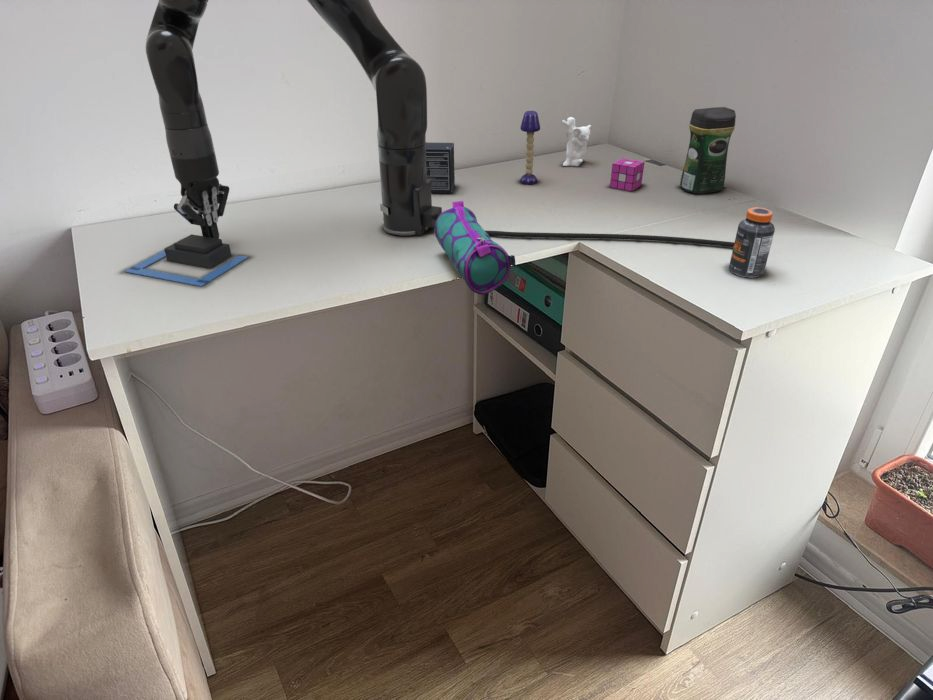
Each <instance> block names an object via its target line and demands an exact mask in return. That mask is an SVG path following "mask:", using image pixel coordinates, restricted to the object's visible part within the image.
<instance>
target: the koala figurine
mask: <svg viewBox="0 0 933 700" xmlns="http://www.w3.org/2000/svg"><path fill="white" fill-rule="evenodd" d="M561 123H562V124H563V125H564V126H565V127H566V129H565V136H566V138H567V139H568V140H567V141H568V142H567V143H566V152H565V156H566V159H565V160H564V162H563V163H562V166H563V167H569V166H571V167H579V166H580V165H581V164H582V163H583V159H582V158H583V157H584V156H585V155H586V154H587V152H588V150H587V146H588V141H590V136H591V132H592V128H593V126H592V124H588V125H586V126H585V125H583V126H579V127H578V126H576V118H575V117H572V116H569V117H567V119H566V120H565V119H562V120H561Z"/></svg>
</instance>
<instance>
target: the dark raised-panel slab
mask: <svg viewBox="0 0 933 700" xmlns="http://www.w3.org/2000/svg"><path fill="white" fill-rule="evenodd" d="M164 250H165V254H166V257H165V258H166V261H167V262H168V261H169V262H174V263H178V264H184V265H190V266H195V267H201V268H206V269H207V268H208V269H212V268H214V267H215V266H217V265H219V264H220V263H222V262H224V261H226V260H227V259H229V258H231V257H232V251H231V246H230V244H229V243H223V239H222V238H219V239H217V238H211V237H205V236H203V235H198V234H192V233H191V234H188V235H187V236H185V237H183V238H181V239H180V240H178V241H176V242H174V243H172V244H171V245H168V246H166V247H165V248H163V251H164Z"/></svg>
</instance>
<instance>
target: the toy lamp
mask: <svg viewBox="0 0 933 700" xmlns="http://www.w3.org/2000/svg"><path fill="white" fill-rule="evenodd" d="M540 130H541V123H540V119H539V113H538V112H537V111H536V110H527V111H524V113H523V117H522V120H521V123H520V131H521V132H525V133H526V151H525V155H526V157H525V170H524V171H525V173H524V174H523V175H521V177H520V180H519V182H520V183H521V184H523V185H535V184H537V183H538V178H537V176H536V175H535V174H533V172H534V171H533V167H534V163H533V162H534V153H535V152H534V148H535V144H534V142H535V137H534V136H535V133H537V132H539V131H540Z"/></svg>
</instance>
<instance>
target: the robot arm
mask: <svg viewBox="0 0 933 700" xmlns="http://www.w3.org/2000/svg"><path fill="white" fill-rule="evenodd" d="M306 1H307V3H308V4H309V5H310V7H311V8H312V9H313V10H314V11H315V12H316V13H317V14H318V16H319V17H320V18H321V19H322V20H323V21H324V22H325V24H327V26H329V28H331V30H332V31H333V32H334V33H335V34H336V35H337V36H338V37H339V38H340V39H341V40H342V41H343V42H344V43H345V44H346V45H347V46H348V48H349V49H350V51H351V52H352V53H353V55H354V56H355V58H356V59H357V62H358V63H359V64H360V66H361V68H362V70H363V71H364V73H365V75H366V76H367V78H368V80H369V81H370V83H371V85H372V88H373V90H374V91H375V96H376V110H377V111H376V112H377V113H376V114H377V130H376V135H377V137H376V138H377V151H378V164H379V177H380V180H379V181H380V191H381V194H380V195H381V203H379V207H380V209H379V210H380V211H381V212H382V221H383V223H382V225H383V230H384V231H385V232H386V233H387V234H390V235H394V236H402V237H404V236H406V237H407V236H408V237H409V236H422V235H423V234H424V233H426V232H427V231H428V230H429V229H431V228H435V223H436V220H437V218H438V217H439V216H440V214H441V213H443V207H442V206H435V205H433V204H432V202H433V200H432V193H431V181H430V180H427V168H426V142H427V140H426V139H427V136H426V135H427V134H426V133H427V131H428V130H427V129H428V88H427V87H428V86H427V78H426V75H425V71H424V69H423V68H422V67H421V65H420V64H419V62H418V61H416V60H415V59H414V58H413V57H412V56H410V55H409V54H408V53H407V52H406V51H405V50H404V48H403V47H402V46H401V45H400V44H399V43H398V42H397V41H396V39H395V38H394V37H393V35H391V33H390V32H389V31H388V29H386V27H385V26H384V25H383V23H382V22H381V20H380V19H379V17H378V15H377V13H376V12H375V10H374V7H373V6H372V4H371V1H370V0H306ZM208 3H209V0H158V2H157V5H156V8H155V11H154V14H153V16H152V20H151V23H150V25H149V29H148V33H147V35H146V39H145V55H146V58H147V59H146V60H147V62H148V66H149V69H150V73H151V76H152V80H153V82H154V85H155V90H156V91H157V92H156V93H157V95H158V104H159V111H160V113H161V118H162V122H163V125H164V129H165V130H164V131H165V139H166V140H165V141H166V145H167V149H168V153H169V158H170V162H171V165H172V170H173V174H174V177H175V179H176V180H177V181H178V182H179V184H180V195H181V199H180V200H179V203H177V202H176V203H174V204H173V209H174V210H175V211H176V212H177V213H178V214H179V215H180V216H181V217H182V218H184V219H185V220H186V221H187V222H188V223H189V224H190V225H193V226H194V225H195V226H199V227H200V230H201V236H205V237H211V238H217V239H220V232H219V228H218V222H219V217H223V216H224V213H225V209H226V206H227V201H228V197H229V193H230V187H229V186H228V185H223V184H221V183H220V180H219V178H218V176H219V174H220V171H219V166H218V162H217V156H216V152H215V146H214V142H213V136H212V134H211V131H210V127H209V124H208V120H207V119H208V118H207V114H206V111H205V106H204V101H203V99H202V97H201V93H200V91H199V90H200V89H199V84H198V83H199V82H198V76H197V75H198V74H197V70H196V69H197V68H196V64H195V63H196V62H195V58H194V53H193V52H194V51H193V49H194V45H195V41H196V40H195V39H196V36H197V33H198V32H197V31H198V28H199V24H200V21H201V19H202V18H203V16H204V14H205V12H206V9H207V7H208ZM484 231H485V232H486V233H487V234H488V235H489V237H490V236H493V237H494V236H495V237H508V238H511V237H512V238H540V239H541V238H542V239H543V238H544V239H589V240H590V239H592V240H593V239H594V240H595V239H596V240H597V239H598V240H628V241H629V240H630V241H631V240H632V241H651V242H652V241H653V242H669V243H681V244H682V243H683V244H695V245H706V246H716V247H726V248H733V247H734V243H735V241H725V240H716V239H715V240H714V239H704V238H694V237H681V236H680V237H679V236H668V235H667V236H665V235H650V234H649V235H648V234H647V235H646V234H625V233H623V234H622V233H587V232H586V233H585V232H584V233H581V232H577V233H575V232H534V231H533V232H531V231H530V232H527V231H526V232H525V231H524V232H523V231H503V230H484Z"/></svg>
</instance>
